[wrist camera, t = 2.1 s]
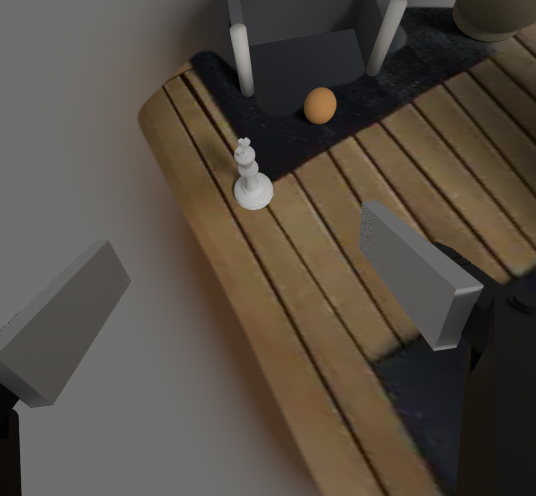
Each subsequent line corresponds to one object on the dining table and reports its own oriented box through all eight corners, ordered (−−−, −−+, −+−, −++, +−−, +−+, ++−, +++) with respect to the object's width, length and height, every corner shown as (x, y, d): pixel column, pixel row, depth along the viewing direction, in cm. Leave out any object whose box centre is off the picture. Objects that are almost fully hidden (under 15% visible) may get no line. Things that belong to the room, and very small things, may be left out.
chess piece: (280, 186, 31) (280, 133, 21) (258, 217, 30) (247, 176, 21) (249, 167, 32) (235, 107, 22) (226, 196, 31) (201, 148, 21)
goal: (380, 75, 34) (409, 7, 26) (242, 97, 34) (230, 37, 27) (363, 18, 36) (385, -60, 28) (234, 40, 37) (221, -31, 29)
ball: (324, 101, 33) (330, 74, 30) (337, 124, 33) (345, 99, 29) (297, 112, 33) (299, 86, 29) (310, 135, 32) (314, 112, 29)
